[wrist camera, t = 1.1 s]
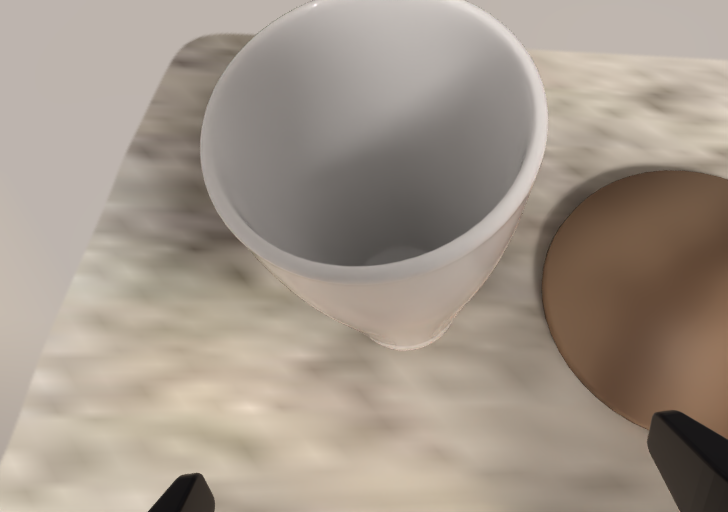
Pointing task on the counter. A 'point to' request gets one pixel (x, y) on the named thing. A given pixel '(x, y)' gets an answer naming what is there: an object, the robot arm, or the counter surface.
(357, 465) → the counter surface
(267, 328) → the counter surface
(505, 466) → the counter surface
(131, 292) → the counter surface
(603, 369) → the walnut coaster
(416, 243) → the white tapered cylinder
